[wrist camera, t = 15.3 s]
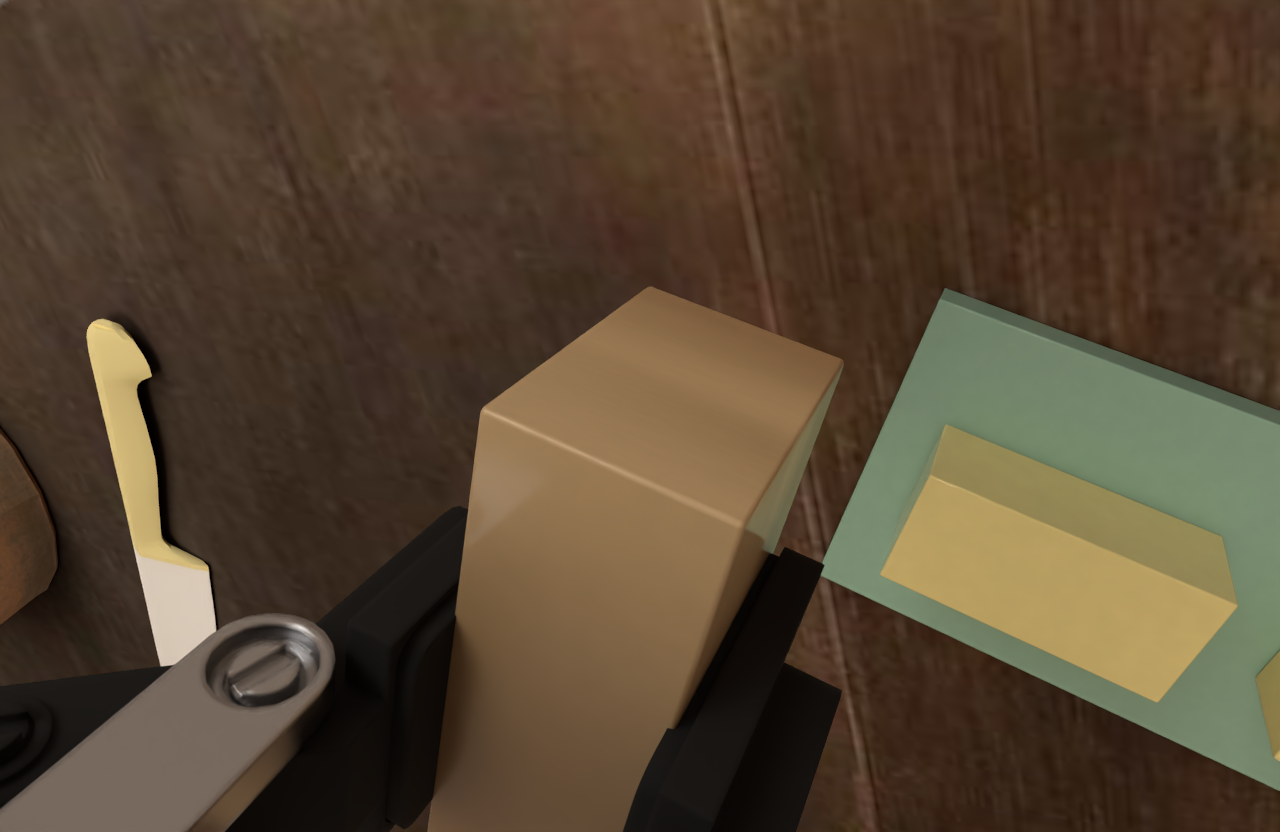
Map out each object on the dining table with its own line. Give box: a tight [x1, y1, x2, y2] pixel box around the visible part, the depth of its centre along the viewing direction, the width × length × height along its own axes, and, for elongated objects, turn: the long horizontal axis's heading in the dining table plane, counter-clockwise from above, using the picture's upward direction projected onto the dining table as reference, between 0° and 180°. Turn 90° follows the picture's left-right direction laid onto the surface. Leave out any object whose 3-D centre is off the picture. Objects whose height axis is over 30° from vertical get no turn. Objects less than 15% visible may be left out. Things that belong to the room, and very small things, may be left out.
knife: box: [87, 319, 216, 666], centre depth 47 cm, size 1×34×5 cm
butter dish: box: [821, 288, 1280, 791], centre depth 23 cm, size 10×14×4 cm
